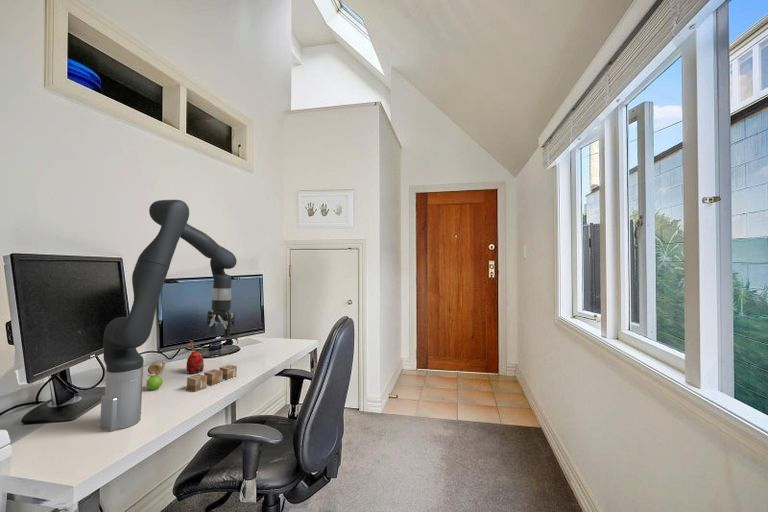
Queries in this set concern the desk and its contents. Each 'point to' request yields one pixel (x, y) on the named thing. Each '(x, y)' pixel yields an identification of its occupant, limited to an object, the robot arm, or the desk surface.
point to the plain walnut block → (214, 376)
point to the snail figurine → (155, 375)
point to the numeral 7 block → (229, 371)
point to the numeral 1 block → (196, 382)
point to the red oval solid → (194, 362)
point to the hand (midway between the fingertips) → (219, 336)
